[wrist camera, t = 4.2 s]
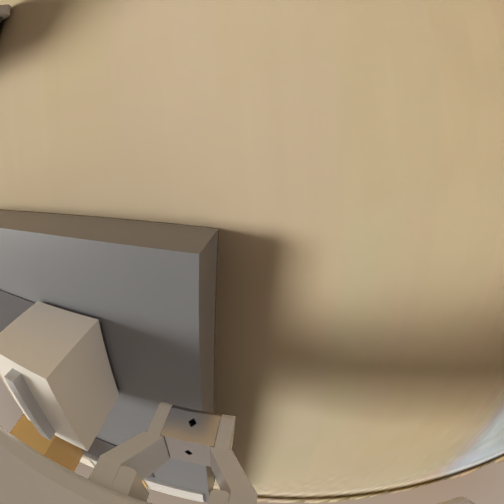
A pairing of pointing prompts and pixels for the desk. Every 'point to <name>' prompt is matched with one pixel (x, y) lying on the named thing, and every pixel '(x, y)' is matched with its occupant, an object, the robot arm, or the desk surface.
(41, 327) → the ivory slider
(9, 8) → the grey hollow box
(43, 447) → the amber slider
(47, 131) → the desk surface
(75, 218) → the switch unit
